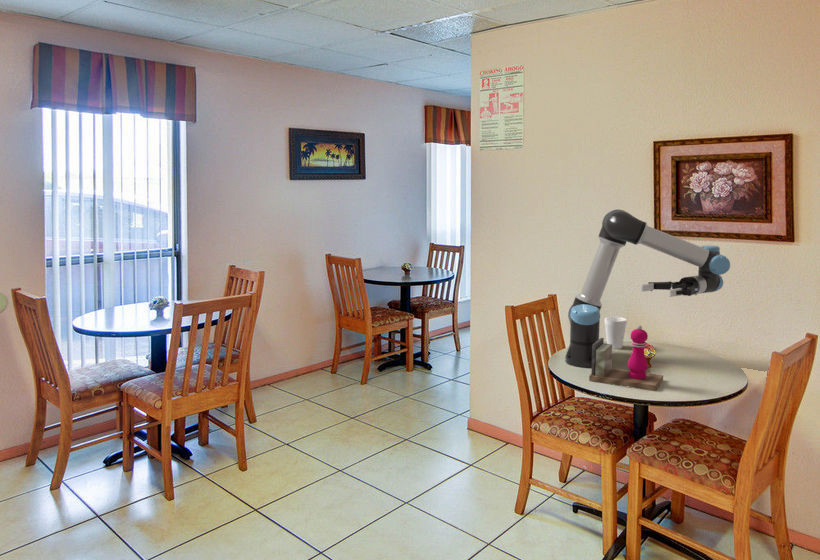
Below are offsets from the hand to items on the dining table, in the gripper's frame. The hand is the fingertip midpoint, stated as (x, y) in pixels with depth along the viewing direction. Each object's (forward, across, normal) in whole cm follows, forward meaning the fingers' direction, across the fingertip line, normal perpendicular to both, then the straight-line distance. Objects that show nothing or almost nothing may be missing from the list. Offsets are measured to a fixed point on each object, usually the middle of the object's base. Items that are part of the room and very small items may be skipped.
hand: (655, 290), depth 249 cm
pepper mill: (+17, -8, -30) cm, 36 cm away
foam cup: (-13, +32, -32) cm, 47 cm away
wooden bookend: (+19, -5, -32) cm, 38 cm away
